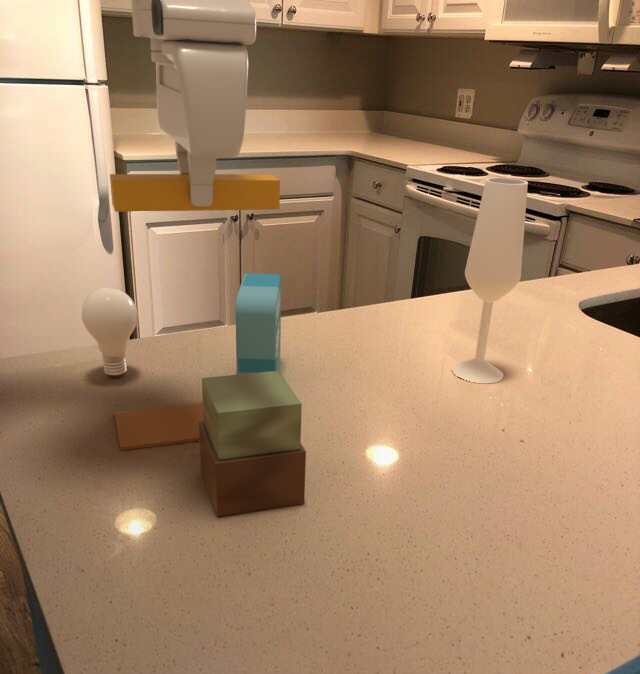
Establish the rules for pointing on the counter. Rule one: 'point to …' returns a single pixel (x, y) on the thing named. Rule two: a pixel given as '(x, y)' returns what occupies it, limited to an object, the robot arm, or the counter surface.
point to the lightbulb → (110, 325)
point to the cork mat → (159, 426)
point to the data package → (258, 323)
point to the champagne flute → (494, 262)
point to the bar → (174, 192)
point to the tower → (251, 443)
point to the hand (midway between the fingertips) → (196, 200)
